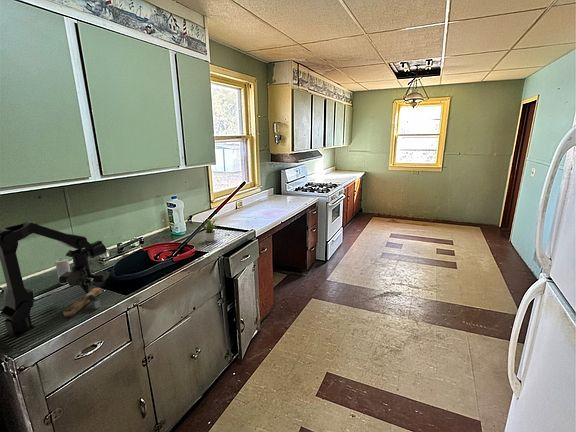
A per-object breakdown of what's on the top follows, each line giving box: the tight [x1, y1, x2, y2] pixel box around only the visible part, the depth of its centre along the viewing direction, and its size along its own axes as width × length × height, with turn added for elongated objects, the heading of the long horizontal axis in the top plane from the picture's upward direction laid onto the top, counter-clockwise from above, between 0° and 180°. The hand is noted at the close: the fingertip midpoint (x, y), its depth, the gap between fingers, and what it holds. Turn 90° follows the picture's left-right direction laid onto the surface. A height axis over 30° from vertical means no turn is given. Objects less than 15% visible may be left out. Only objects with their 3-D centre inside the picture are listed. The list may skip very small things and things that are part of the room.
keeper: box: [86, 295, 101, 310], centre depth 130 cm, size 2×7×4 cm, turn 58°
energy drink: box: [54, 257, 72, 285], centre depth 150 cm, size 5×5×12 cm
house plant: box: [199, 217, 218, 242], centre depth 209 cm, size 14×14×16 cm
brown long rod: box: [62, 287, 103, 318], centre depth 130 cm, size 20×4×3 cm, turn 178°
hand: (87, 293), depth 136 cm, fingers closed
